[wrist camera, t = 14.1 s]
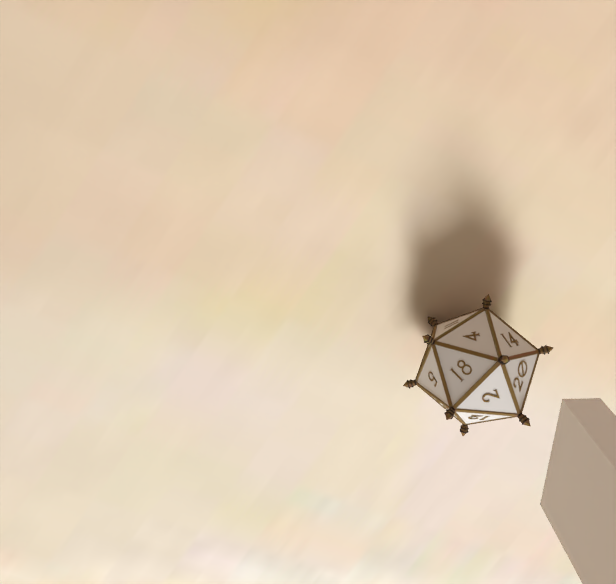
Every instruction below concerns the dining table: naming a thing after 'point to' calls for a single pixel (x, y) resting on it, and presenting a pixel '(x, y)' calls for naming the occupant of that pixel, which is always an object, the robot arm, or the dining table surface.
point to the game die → (477, 367)
